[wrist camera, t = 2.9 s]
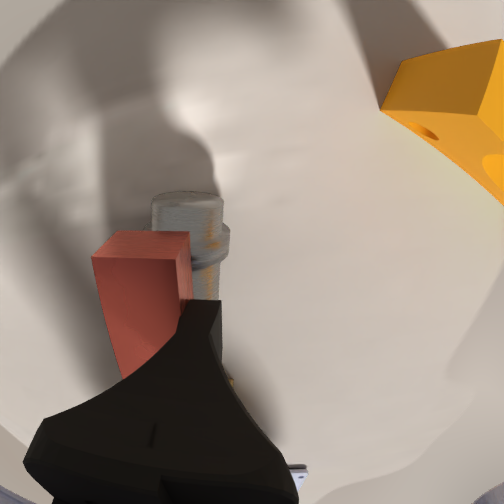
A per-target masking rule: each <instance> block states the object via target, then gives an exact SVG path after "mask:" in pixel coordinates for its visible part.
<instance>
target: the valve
mask: <svg viewBox="0 0 504 504" xmlns="http://www.w3.org/2000/svg"><path fill="white" fill-rule="evenodd" d="M223 206H224V201H223V199H222V198H220V197H218V196H215V195H212V194H208V193H202V192H186V191H184V192H170V193H164V194H161V195H158V196H155V197H154V198H153V199H152V200H151V215H152V222H150V223H149V224H147V225H146V226H145V228H144V231H190V248H191V265H192V281H193V295H194V299H201V300H218V296H219V275H220V262H221V261H222V260H224V259H225V258H226V257H227V255H228V253H229V241H230V229H229V227H228V226H227V225H225V224H224V223H222V221H223ZM228 380H229V382H230V384H231V386H232V387H233V379H228Z"/></svg>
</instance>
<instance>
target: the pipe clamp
mask: <svg viewBox="0 0 504 504" xmlns="http://www.w3.org/2000/svg"><path fill="white" fill-rule="evenodd" d="M380 111H381V112H383V113H385V114H386V115H388V116H389V117H391V118H393V119H394V120H396V121H397V122H399V123H400V124H402V125H403V126H405V127H406V128H408V129H409V130H411V131H412V132H414V133H415V134H417V135H418V136H419V137H421V138H422V139H424V140H425V141H426V142H428V143H429V144H431V145H432V146H433V147H435V148H436V149H437V150H439V151H440V152H441V153H443V154H444V155H445V156H446V157H448V158H449V159H450V160H452V161H453V162H454V163H455V164H457V165H458V166H459V167H460V168H462V169H463V170H464V171H465V172H466V173H468V174H469V175H470V176H471V177H472V178H474V179H475V180H476V181H477V182H478V183H479V184H480V185H482V186H483V187H484V188H485V189H486V190H487V191H488V192H489V193H490V194H492V195H493V196H494V197H495V198H496V199H497V200H498V201H499V202H500V203H501V204H502V205H503V206H504V41H503V40H502V39H497V40H491V41H485V42H480V43H474V44H469V45H464V46H460V47H455V48H450V49H446V50H442V51H438V52H434V53H430V54H426V55H422V56H418V57H415V58H411V59H407V60H404V61H402V62H401V65H400V67H399V69H398V71H397V74H396V76H395V78H394V80H393V83H392V85H391V87H390V89H389V92H388V94H387V96H386V98H385V100H384V102H383V105H382V107H381V109H380Z"/></svg>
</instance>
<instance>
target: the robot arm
mask: <svg viewBox="0 0 504 504" xmlns="http://www.w3.org/2000/svg"><path fill="white" fill-rule="evenodd" d="M221 360H222V306H221V300H201V299H190V300H189V302H188V303H187V305H186V307H185V309H184V311H183V313H182V316H180V317H179V321H178V325H177V329H176V333H175V334H174V335H173V336H172V337H171V338H170V339H169V340H168V341H167V342H166V343H165V344H164V345H163V346H162V347H161V348H160V349H159V350H158V351H157V352H156V353H155V354H154V355H153V356H152V357H151V358H150V359H149V360H148V361H146V362H145V363H144V364H143V365H142V366H140V367H139V368H138V369H137V370H136V371H134V372H133V373H132V374H130V375H129V376H127V377H126V378H125V379H123V380H122V381H120V382H119V383H117V384H116V385H114V386H113V387H111V388H110V389H108V390H106V391H104V392H103V393H101V394H99V395H97V396H96V397H94V398H92V399H90V400H88V401H86V402H84V403H82V404H80V405H78V406H75V407H73V408H71V409H68V410H66V411H63V412H61V413H58V414H56V415H53V416H51V417H48V418H45V419H44V420H43V421H42V423H41V425H40V426H39V428H38V430H37V431H36V434H35V436H34V438H33V440H32V442H31V444H30V446H29V449H28V451H27V453H26V456H25V458H24V460H23V464H24V466H25V468H26V470H27V472H28V473H29V474H30V475H31V476H32V477H33V478H34V479H35V480H36V481H37V482H38V483H39V484H40V485H41V486H42V487H43V488H44V489H45V490H47V491H48V492H49V493H50V494H51V495H52V496H53V497H54V499H53V502H52V504H299V496H298V491H299V489H300V487H301V486H302V484H303V482H304V481H305V479H306V477H307V475H308V470H306V469H291V470H289V468H288V466H287V464H286V462H285V459H284V457H283V455H282V453H281V452H280V450H279V449H278V448H277V447H276V446H275V445H274V444H273V443H272V442H271V441H270V440H269V439H268V437H267V436H266V435H265V434H264V433H263V432H262V430H261V429H260V428H259V427H258V425H257V424H256V423H255V421H254V420H253V419H252V417H251V416H250V415H249V413H248V412H247V410H246V409H245V407H244V405H243V404H242V402H241V401H240V399H239V398H238V396H237V395H236V393H235V391H234V389H233V387H232V386H231V384H230V382H229V380H228V378H227V376H226V374H225V372H224V369H223V367H222V365H221ZM0 504H36V503H34V502H32V501H29V500H27V499H25V498H23V497H21V496H19V495H17V494H15V493H13V492H12V491H10V490H8V489H6V488H4V487H2V486H1V485H0ZM472 504H504V482H503V483H501V484H499V485H497V486H495V487H494V488H492V489H490V490H489V491H487V492H486V493H484V494H483V495H481V496H480V497H479V498H478V499H477V500H476V501H474V503H472Z"/></svg>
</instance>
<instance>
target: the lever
mask: <svg viewBox="0 0 504 504" xmlns="http://www.w3.org/2000/svg"><path fill="white" fill-rule="evenodd" d="M91 259H92V264H93V269H94V274H95V279H96V284H97V288H98V293H99V297H100V301H101V305H102V310H103V314H104V317H105V321H106V325H107V329H108V332H109V336H110V339H111V343H112V346H113V350H114V353H115V356H116V360H117V363H118V366H119V369H120V372H121V375H122V378H123V379H125V378H126V377H127V376H129V375H130V374H132V373H133V372H134V371H136V370H137V369H138V368H139V367H140V366H142V365H143V364H144V363H145V362H146V361H148V360H149V359H150V358H151V357H152V356H153V355H154V354H155V353H156V352H157V351H158V350H159V349H160V348H161V347H162V346H163V345H164V344H165V343H166V342H167V341H168V340H169V339H170V338H171V337H172V336H173V335H174V334H175V333H176V329H177V325H178V321H179V317H180V316H182V313H183V311H184V309H185V307H186V305H187V303H188V302H189V300H190V299H194V295H193V281H192V265H191V248H190V231H117V232H116V233H115V234H114V235H113V236H112V237H111V238H109V239H108V240H107V241H106V242H105V243H104V244H103V245H102V246H101V247H100V248H99V249H98V250H97V251H96V252H95V253H94V254H93V255H92V256H91Z"/></svg>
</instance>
